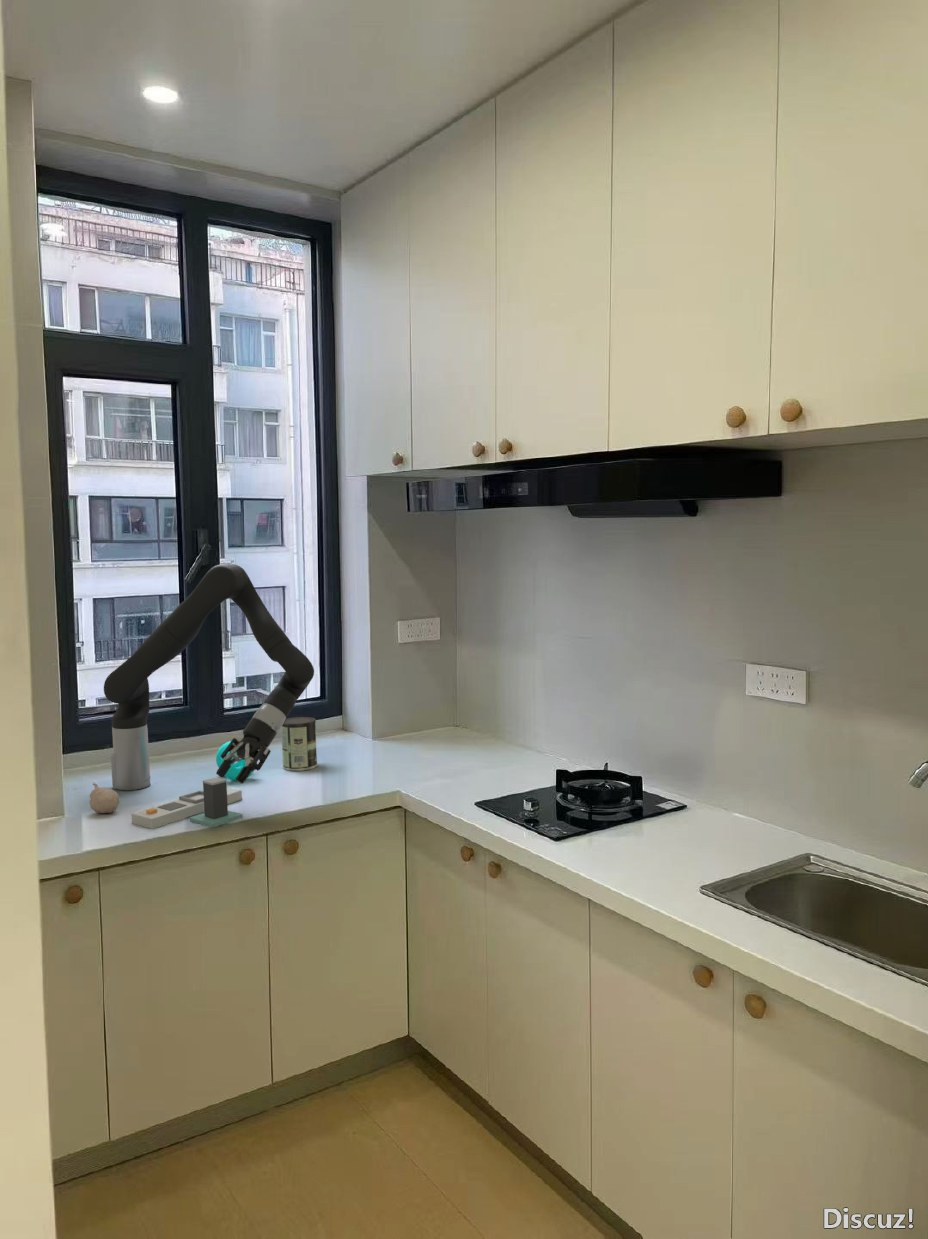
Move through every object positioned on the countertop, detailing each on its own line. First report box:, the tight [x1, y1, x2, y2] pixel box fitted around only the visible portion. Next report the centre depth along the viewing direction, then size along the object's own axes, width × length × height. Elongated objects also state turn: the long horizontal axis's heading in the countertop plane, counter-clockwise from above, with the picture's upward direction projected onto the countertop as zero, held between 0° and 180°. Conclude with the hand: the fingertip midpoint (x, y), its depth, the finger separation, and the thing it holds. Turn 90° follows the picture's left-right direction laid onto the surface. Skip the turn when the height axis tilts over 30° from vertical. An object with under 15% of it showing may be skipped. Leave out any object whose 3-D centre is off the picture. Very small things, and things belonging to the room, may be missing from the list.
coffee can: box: [280, 716, 318, 772], centre depth 280 cm, size 10×10×14 cm
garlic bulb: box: [89, 782, 121, 814], centre depth 238 cm, size 7×6×8 cm
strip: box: [130, 786, 243, 829], centre depth 239 cm, size 28×8×3 cm, turn 145°
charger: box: [202, 776, 229, 819], centre depth 232 cm, size 4×4×9 cm
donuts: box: [215, 740, 255, 782], centre depth 269 cm, size 10×10×10 cm
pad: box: [188, 810, 244, 828], centre depth 232 cm, size 9×9×1 cm
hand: (229, 778), depth 234 cm, fingers open, 8 cm apart
